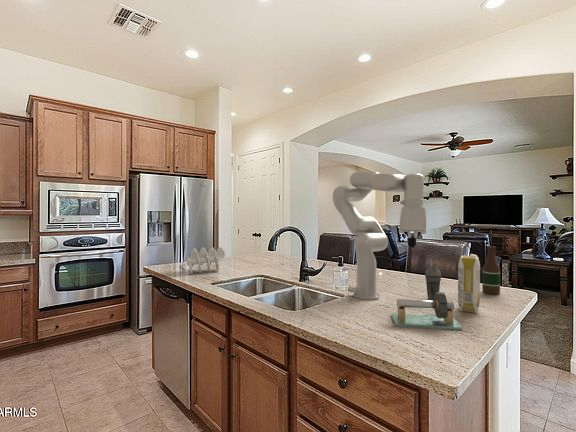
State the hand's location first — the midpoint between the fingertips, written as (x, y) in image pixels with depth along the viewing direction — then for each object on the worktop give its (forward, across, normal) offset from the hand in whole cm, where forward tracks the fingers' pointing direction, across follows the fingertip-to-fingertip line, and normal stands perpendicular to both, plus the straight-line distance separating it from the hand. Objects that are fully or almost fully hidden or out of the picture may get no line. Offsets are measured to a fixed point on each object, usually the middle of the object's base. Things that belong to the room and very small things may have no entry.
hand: (411, 247), depth 135 cm
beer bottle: (+28, +45, +38) cm, 65 cm away
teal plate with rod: (+27, +4, -14) cm, 30 cm away
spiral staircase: (+33, -126, +60) cm, 143 cm away
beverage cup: (+28, +13, +20) cm, 37 cm away
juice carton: (+27, +25, +6) cm, 37 cm away
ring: (+24, +9, -13) cm, 29 cm away
